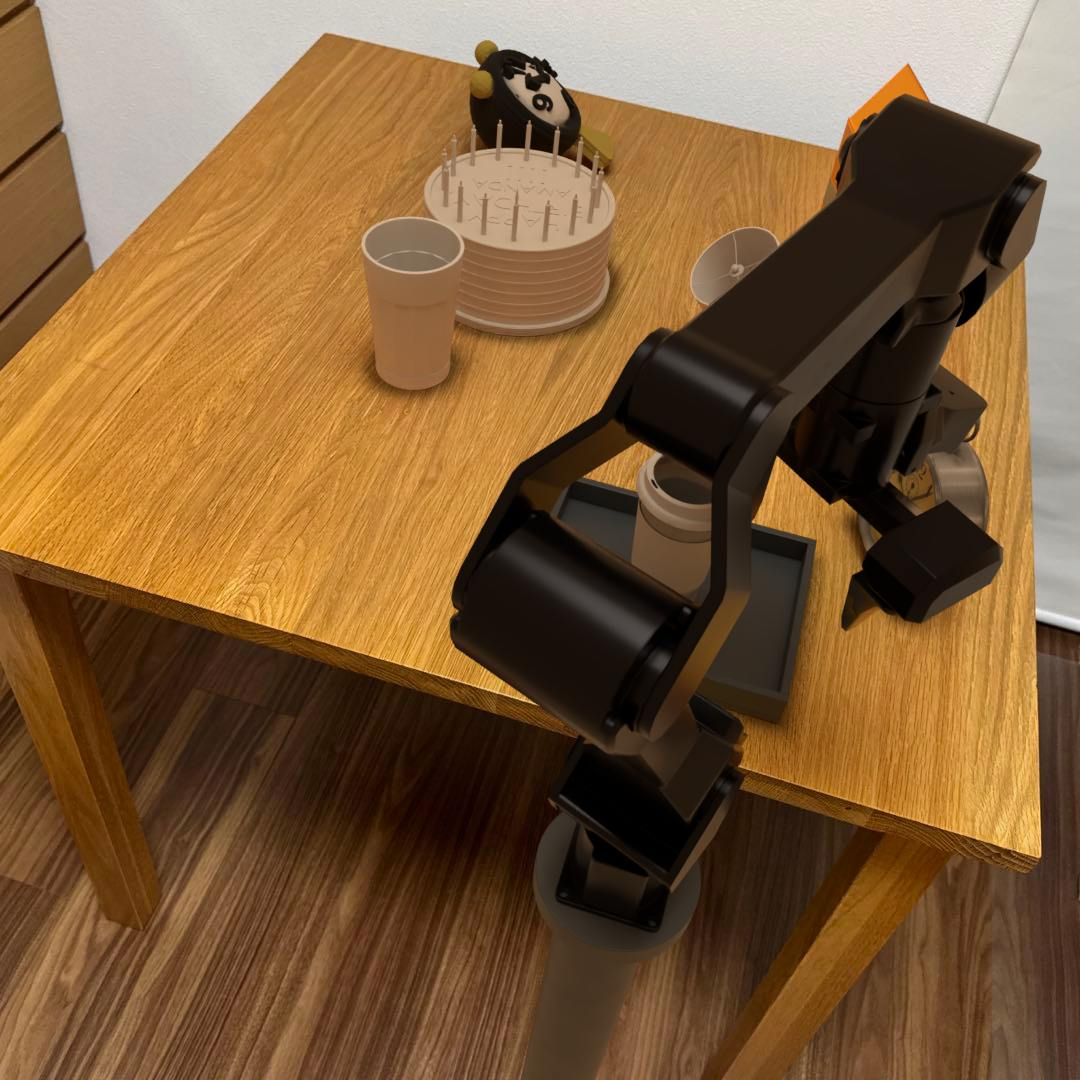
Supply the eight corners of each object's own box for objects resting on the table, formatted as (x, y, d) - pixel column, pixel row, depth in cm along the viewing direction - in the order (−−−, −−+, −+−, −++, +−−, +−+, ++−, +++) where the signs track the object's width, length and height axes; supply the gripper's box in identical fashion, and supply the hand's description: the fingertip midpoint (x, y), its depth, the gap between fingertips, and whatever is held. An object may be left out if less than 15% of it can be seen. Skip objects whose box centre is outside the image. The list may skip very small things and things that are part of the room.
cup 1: (353, 347, 97) (347, 225, 88) (439, 329, 100) (442, 209, 91) (384, 405, 93) (381, 281, 84) (474, 384, 95) (480, 263, 86)
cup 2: (598, 570, 81) (621, 448, 73) (680, 550, 83) (713, 429, 75) (639, 645, 77) (668, 525, 68) (725, 623, 79) (764, 503, 70)
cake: (611, 236, 113) (629, 109, 103) (605, 346, 100) (626, 214, 91) (432, 216, 112) (434, 87, 103) (404, 323, 100) (404, 188, 90)
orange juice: (823, 305, 108) (888, 105, 93) (805, 253, 113) (864, 57, 99) (902, 310, 108) (980, 111, 94) (880, 257, 114) (950, 63, 100)
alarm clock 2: (836, 514, 88) (902, 348, 76) (900, 509, 89) (975, 345, 77) (890, 623, 81) (973, 459, 69) (958, 616, 82) (1051, 453, 70)
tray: (778, 724, 74) (788, 702, 72) (502, 643, 77) (505, 619, 75) (808, 563, 84) (817, 539, 83) (563, 496, 87) (566, 472, 85)
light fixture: (799, 326, 108) (721, 208, 96) (942, 364, 97) (875, 237, 85) (742, 411, 107) (656, 303, 95) (880, 460, 96) (803, 344, 84)
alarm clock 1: (558, 228, 120) (520, 122, 107) (470, 172, 127) (423, 67, 114) (633, 155, 121) (604, 42, 108) (542, 104, 128) (504, -8, 115)
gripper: (1135, 426, 53) (1008, 627, 64) (858, 224, 62) (792, 430, 74) (973, 512, 48) (869, 711, 60) (702, 281, 58) (658, 490, 70)
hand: (795, 572), depth 66 cm, fingers open, 9 cm apart
